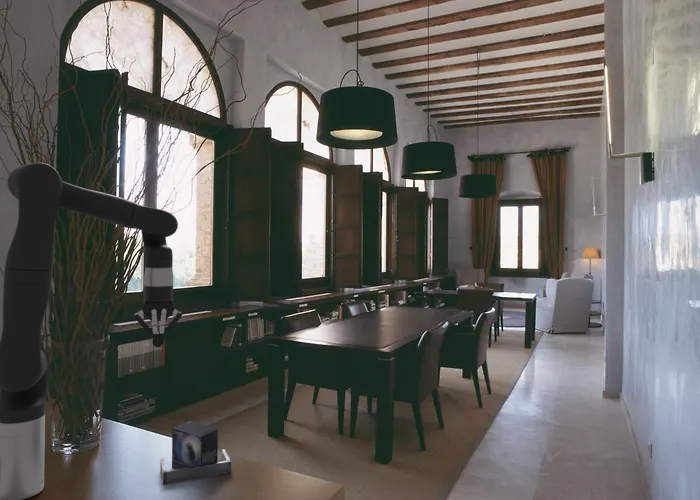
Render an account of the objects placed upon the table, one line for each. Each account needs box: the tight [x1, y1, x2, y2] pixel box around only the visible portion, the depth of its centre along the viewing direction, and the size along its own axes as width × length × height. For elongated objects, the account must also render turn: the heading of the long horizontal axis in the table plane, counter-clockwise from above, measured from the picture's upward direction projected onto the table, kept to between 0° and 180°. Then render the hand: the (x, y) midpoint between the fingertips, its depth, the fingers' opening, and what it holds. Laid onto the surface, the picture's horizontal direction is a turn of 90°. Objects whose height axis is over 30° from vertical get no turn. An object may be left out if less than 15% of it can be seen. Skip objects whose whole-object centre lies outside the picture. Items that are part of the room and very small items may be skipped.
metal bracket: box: [159, 448, 232, 486], centre depth 126 cm, size 16×8×3 cm, turn 115°
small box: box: [171, 420, 219, 469], centre depth 128 cm, size 11×6×10 cm, turn 61°
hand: (158, 346), depth 138 cm, fingers closed
